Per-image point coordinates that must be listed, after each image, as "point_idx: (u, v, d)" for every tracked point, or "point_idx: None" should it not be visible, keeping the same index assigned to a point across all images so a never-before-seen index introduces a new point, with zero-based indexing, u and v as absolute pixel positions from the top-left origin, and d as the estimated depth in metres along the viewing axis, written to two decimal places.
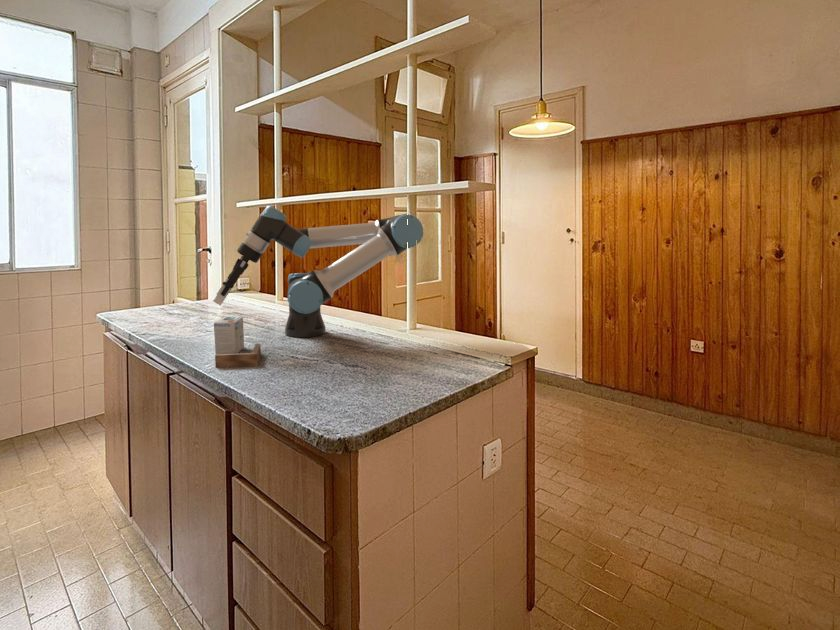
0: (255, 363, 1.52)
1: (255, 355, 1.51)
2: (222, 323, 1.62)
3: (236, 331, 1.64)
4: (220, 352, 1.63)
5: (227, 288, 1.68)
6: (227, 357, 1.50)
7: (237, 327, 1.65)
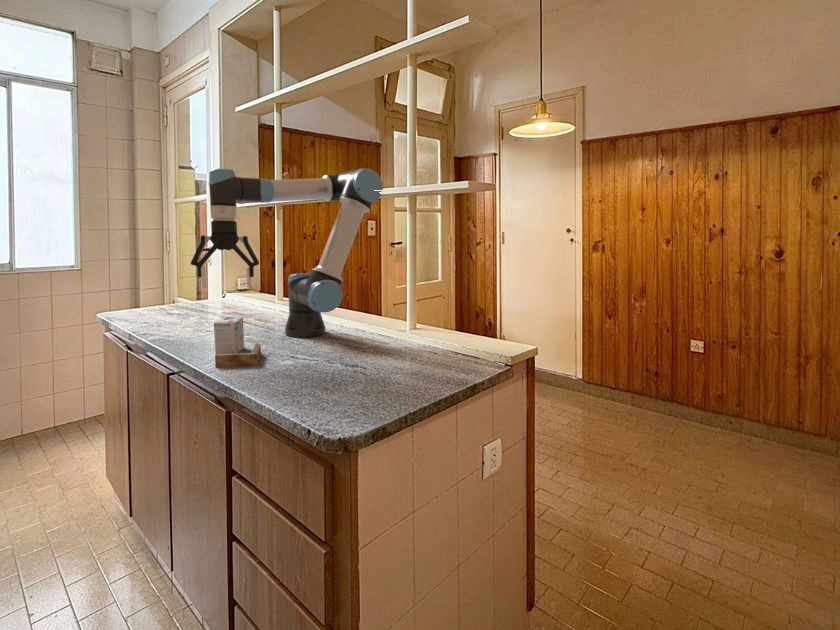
0: (255, 363, 1.52)
1: (255, 355, 1.51)
2: (222, 323, 1.62)
3: (236, 331, 1.64)
4: (220, 352, 1.63)
5: (253, 268, 1.66)
6: (227, 357, 1.50)
7: (237, 327, 1.65)
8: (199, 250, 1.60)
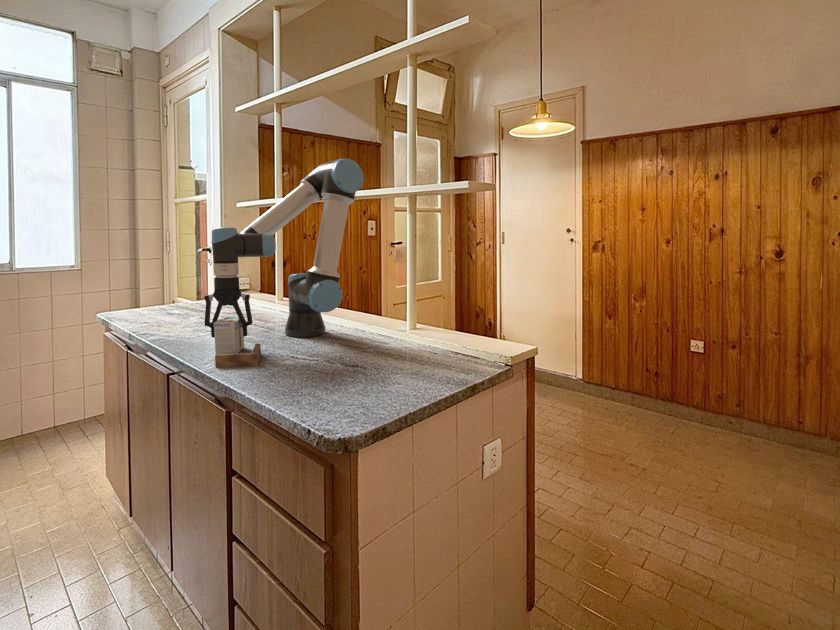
0: (255, 363, 1.52)
1: (255, 355, 1.51)
2: (222, 323, 1.62)
3: (236, 331, 1.64)
4: (220, 352, 1.63)
5: (246, 327, 1.68)
6: (227, 357, 1.50)
7: (237, 327, 1.65)
8: (208, 310, 1.64)
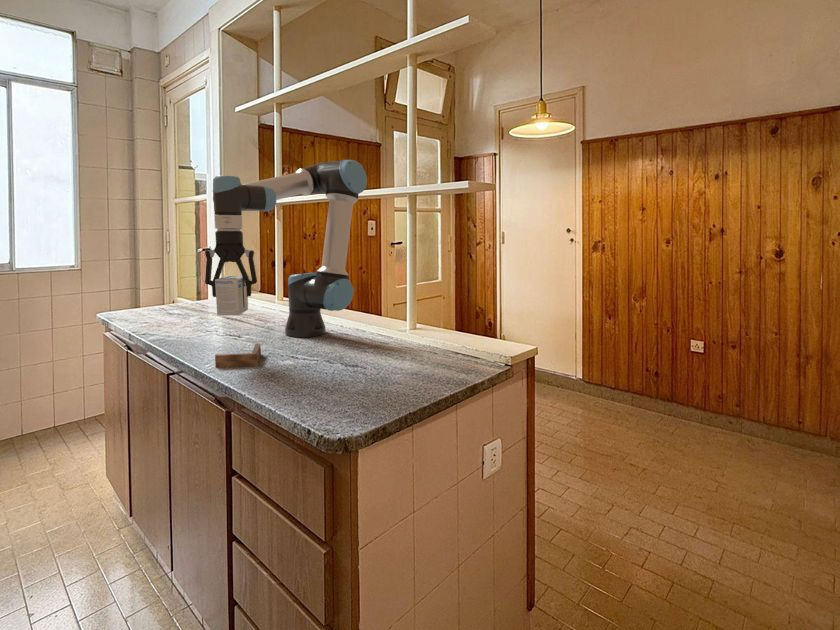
0: (255, 363, 1.52)
1: (255, 355, 1.51)
2: (224, 280, 1.49)
3: (239, 289, 1.51)
4: (222, 312, 1.50)
5: (250, 286, 1.56)
6: (227, 357, 1.50)
7: (240, 285, 1.52)
8: (208, 267, 1.51)
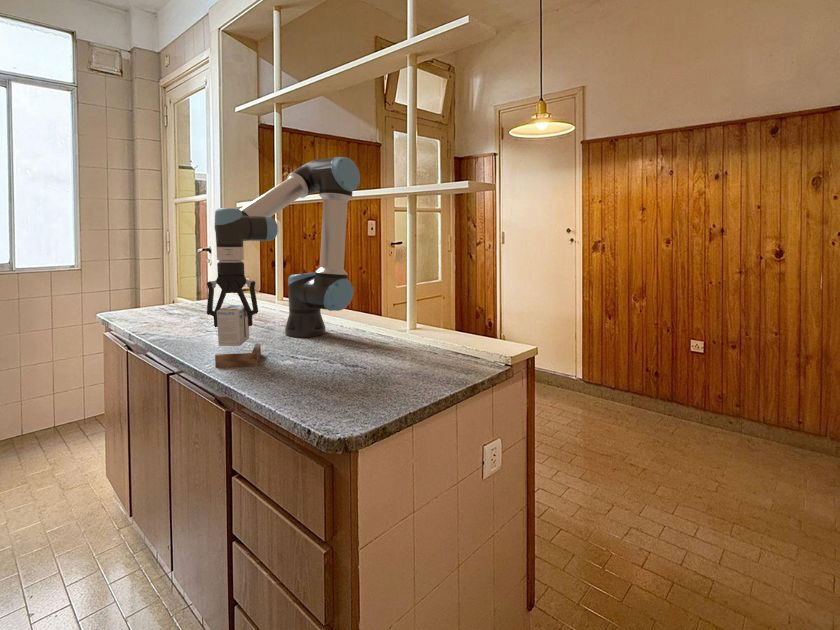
0: (255, 363, 1.52)
1: (255, 355, 1.51)
2: (226, 311, 1.50)
3: (241, 320, 1.52)
4: (223, 342, 1.52)
5: None
6: (227, 357, 1.50)
7: (242, 316, 1.53)
8: (210, 298, 1.52)
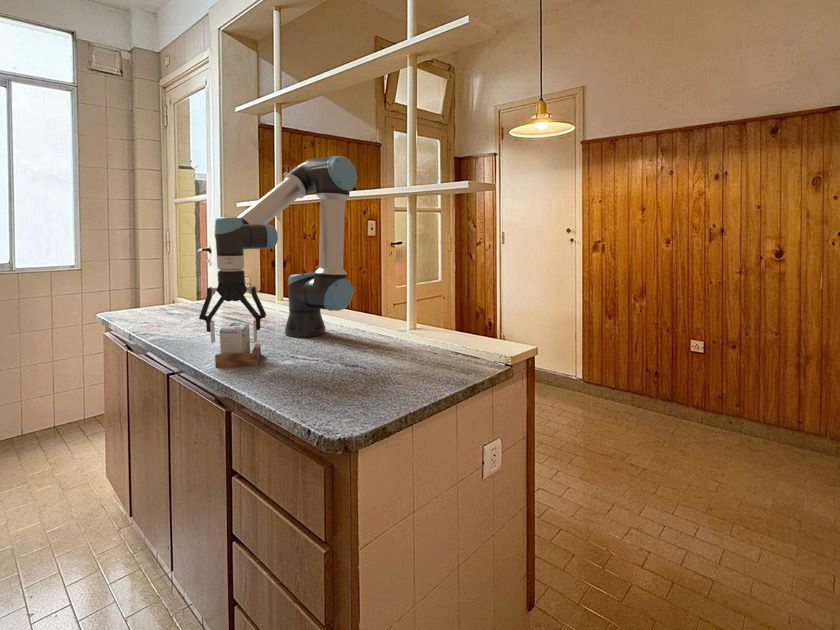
0: (255, 363, 1.52)
1: (255, 355, 1.51)
2: (228, 330, 1.51)
3: (243, 338, 1.53)
4: None
5: None
6: (227, 357, 1.50)
7: (244, 334, 1.54)
8: (207, 303, 1.52)
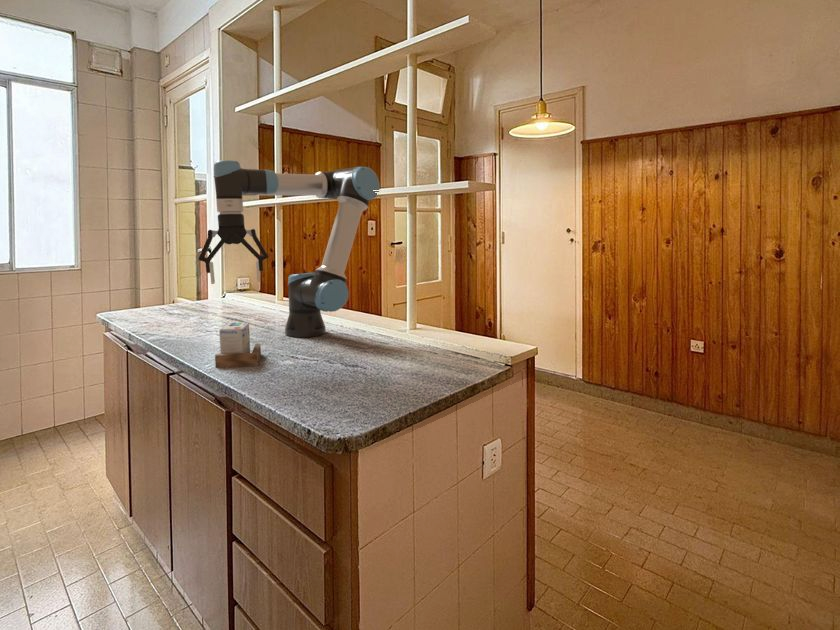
0: (255, 363, 1.52)
1: (255, 355, 1.51)
2: (228, 330, 1.51)
3: (243, 338, 1.53)
4: None
5: (262, 261, 1.63)
6: (227, 357, 1.50)
7: (244, 334, 1.54)
8: (207, 245, 1.56)
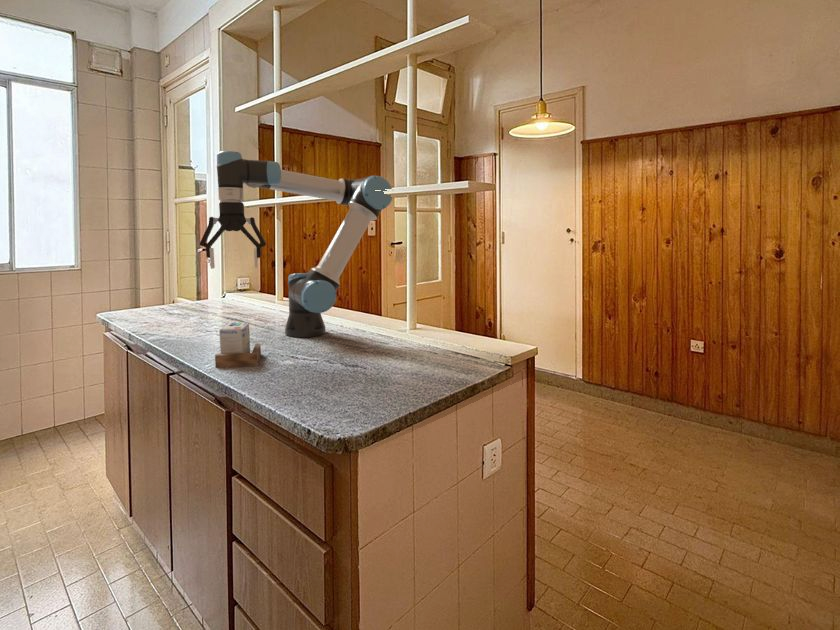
0: (255, 363, 1.52)
1: (255, 355, 1.51)
2: (228, 330, 1.51)
3: (243, 338, 1.53)
4: None
5: (260, 248, 1.70)
6: (227, 357, 1.50)
7: (244, 334, 1.54)
8: (208, 231, 1.64)
